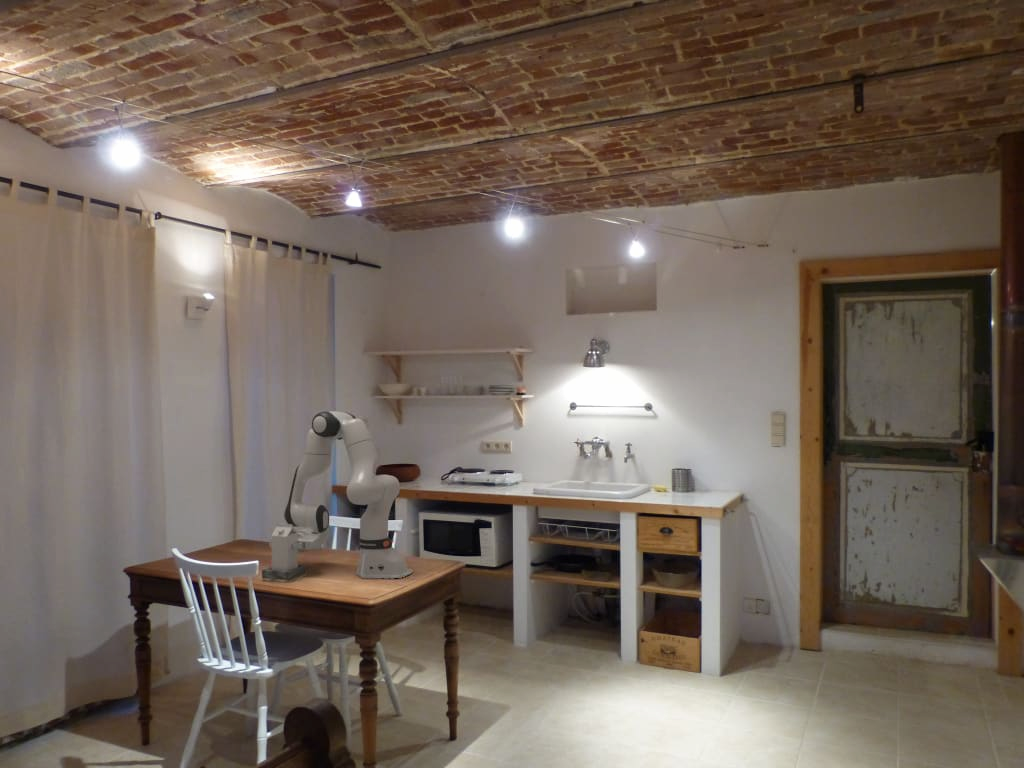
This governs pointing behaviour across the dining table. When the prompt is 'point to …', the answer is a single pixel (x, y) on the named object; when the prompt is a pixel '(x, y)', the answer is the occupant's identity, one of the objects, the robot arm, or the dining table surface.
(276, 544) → the milk carton
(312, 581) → the dining table surface
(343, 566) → the dining table surface
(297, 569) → the square glass ashtray
